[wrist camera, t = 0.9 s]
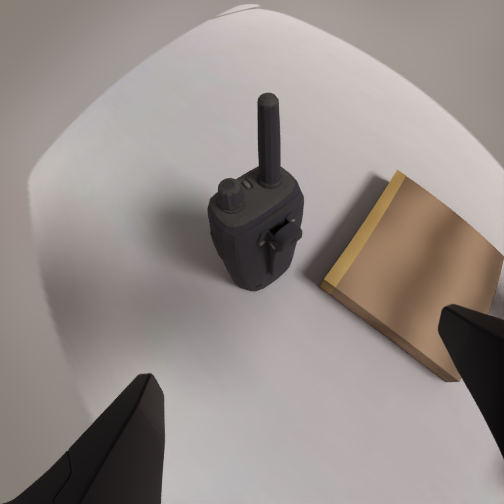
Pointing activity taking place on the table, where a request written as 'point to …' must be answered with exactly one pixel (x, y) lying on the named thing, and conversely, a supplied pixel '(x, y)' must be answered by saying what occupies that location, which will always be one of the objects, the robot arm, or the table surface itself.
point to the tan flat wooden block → (415, 271)
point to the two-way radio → (258, 211)
